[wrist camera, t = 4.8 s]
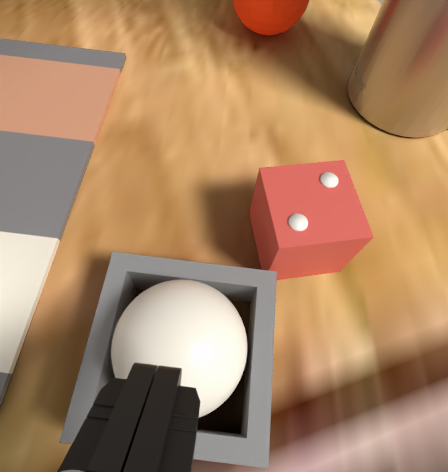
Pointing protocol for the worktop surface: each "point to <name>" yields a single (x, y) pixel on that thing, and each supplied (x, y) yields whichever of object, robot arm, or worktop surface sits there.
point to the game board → (42, 166)
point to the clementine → (270, 14)
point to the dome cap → (184, 338)
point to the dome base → (257, 362)
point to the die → (307, 219)
